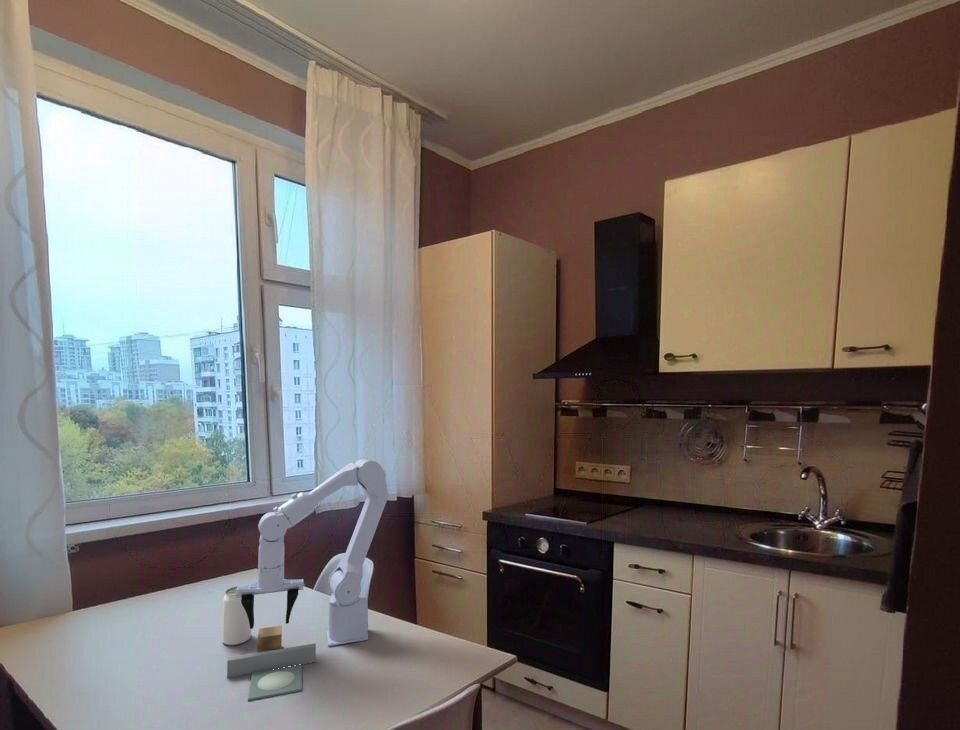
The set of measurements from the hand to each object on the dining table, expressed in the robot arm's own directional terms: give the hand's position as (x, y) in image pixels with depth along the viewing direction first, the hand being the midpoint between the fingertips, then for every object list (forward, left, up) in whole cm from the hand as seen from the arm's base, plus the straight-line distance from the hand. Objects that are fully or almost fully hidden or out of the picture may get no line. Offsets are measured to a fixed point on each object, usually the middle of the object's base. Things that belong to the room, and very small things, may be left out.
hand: (269, 624), depth 119 cm
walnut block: (0, 0, -7) cm, 7 cm away
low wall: (-1, +7, -7) cm, 10 cm away
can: (+8, -10, -7) cm, 14 cm away
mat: (-2, +14, -7) cm, 16 cm away
